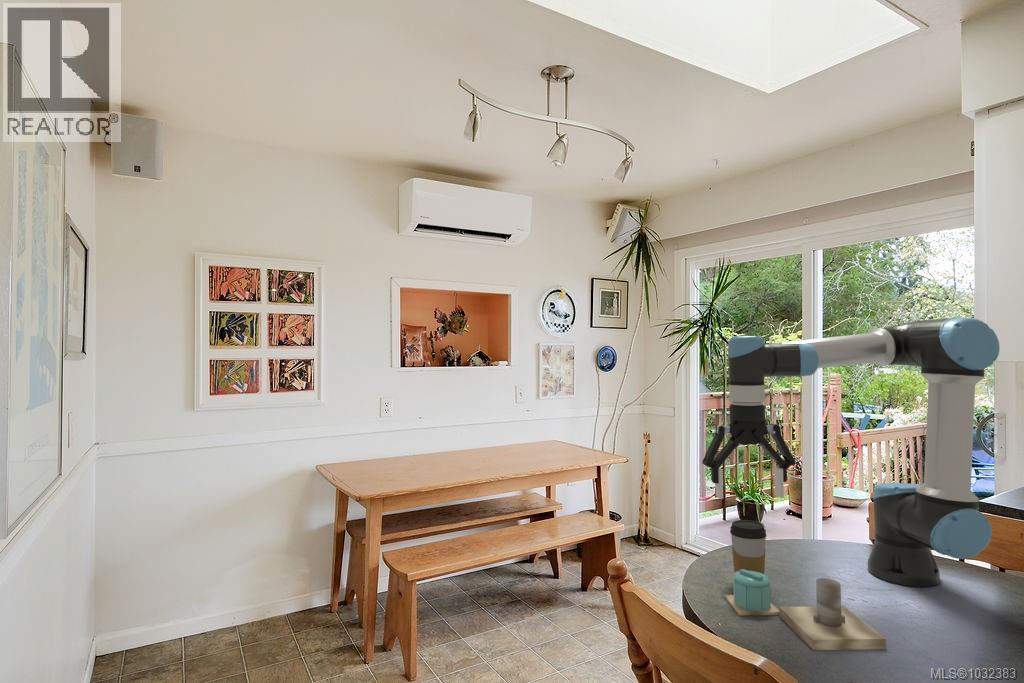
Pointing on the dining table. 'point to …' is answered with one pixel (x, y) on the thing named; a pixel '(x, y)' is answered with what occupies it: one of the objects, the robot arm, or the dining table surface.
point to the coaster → (742, 611)
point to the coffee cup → (748, 545)
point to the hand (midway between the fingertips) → (749, 497)
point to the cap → (751, 590)
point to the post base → (830, 634)
